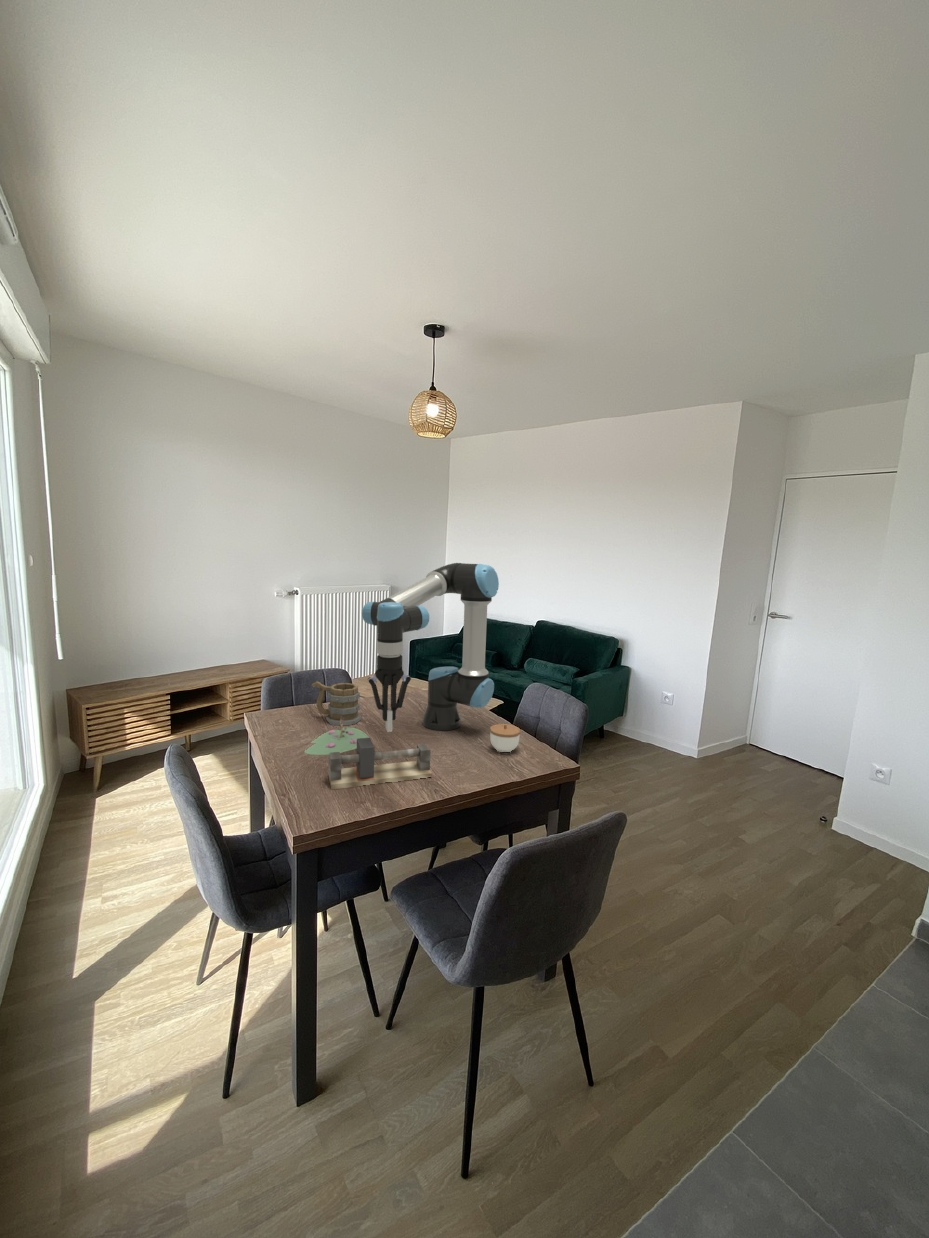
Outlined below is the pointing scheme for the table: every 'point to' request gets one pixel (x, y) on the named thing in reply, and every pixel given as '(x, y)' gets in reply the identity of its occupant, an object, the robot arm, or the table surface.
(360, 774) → the collar
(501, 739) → the lidded jar
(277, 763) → the table surface
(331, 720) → the tankard
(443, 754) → the table surface
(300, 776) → the table surface
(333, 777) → the grey sliding block rail
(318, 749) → the plant
